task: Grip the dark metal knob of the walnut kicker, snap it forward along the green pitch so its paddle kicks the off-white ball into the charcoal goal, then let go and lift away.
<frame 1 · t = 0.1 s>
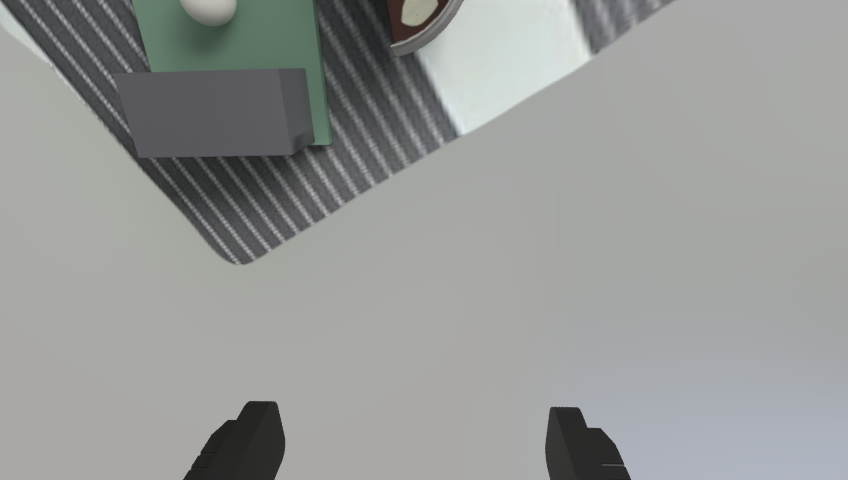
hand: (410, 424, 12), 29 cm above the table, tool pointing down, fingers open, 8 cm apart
goal: (247, 105, 37), resting on pitch
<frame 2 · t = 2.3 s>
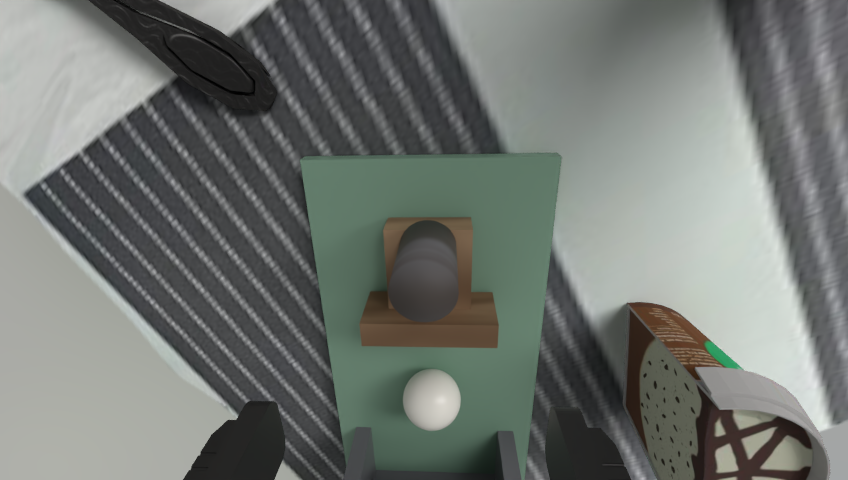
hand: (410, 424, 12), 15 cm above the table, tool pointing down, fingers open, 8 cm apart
kicker: (427, 292, 22), point 5 cm above the table, slide at 0.0 cm
goal: (434, 444, 34), resting on pitch
ball: (431, 399, 28), point 3 cm above the table, touching pitch
food container: (667, 351, 29), on the table
pitch: (432, 344, 30), on the table
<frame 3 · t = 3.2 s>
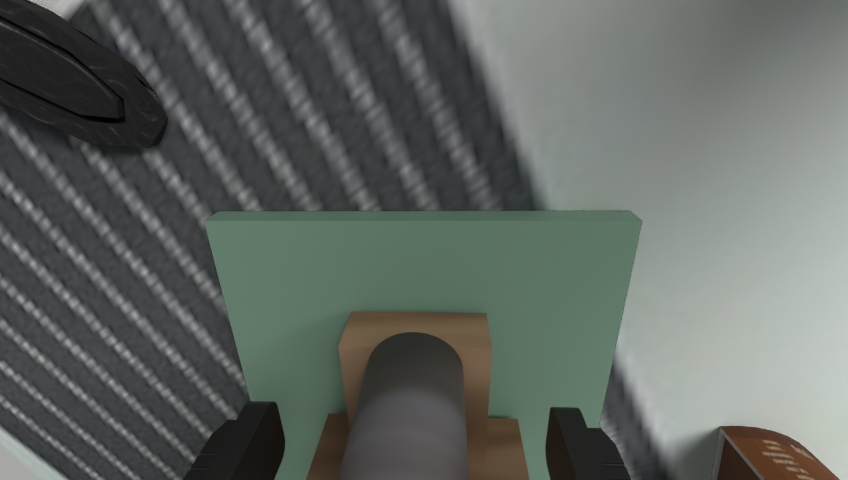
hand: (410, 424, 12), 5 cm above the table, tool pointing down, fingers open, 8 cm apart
kicker: (413, 455, 13), point 5 cm above the table, slide at 0.0 cm
pitch: (425, 472, 20), on the table
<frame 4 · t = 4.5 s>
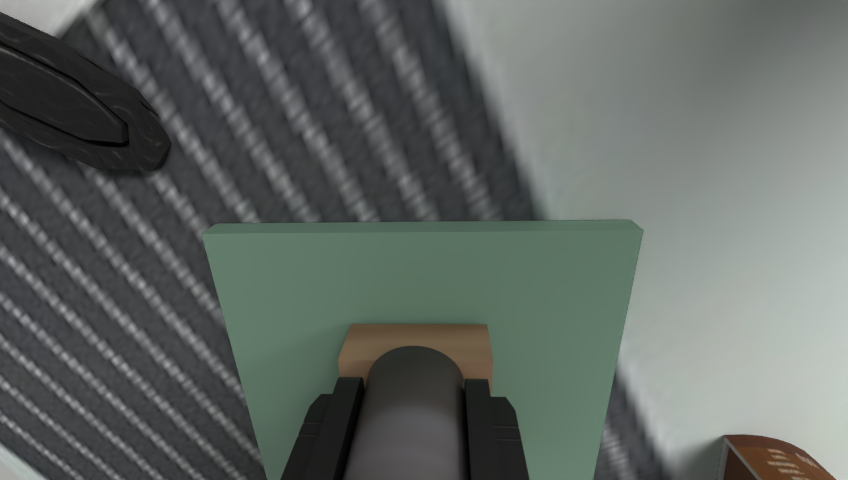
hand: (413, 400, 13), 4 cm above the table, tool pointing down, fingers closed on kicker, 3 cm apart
kicker: (414, 470, 13), point 5 cm above the table, slide at 0.0 cm, touching gripper
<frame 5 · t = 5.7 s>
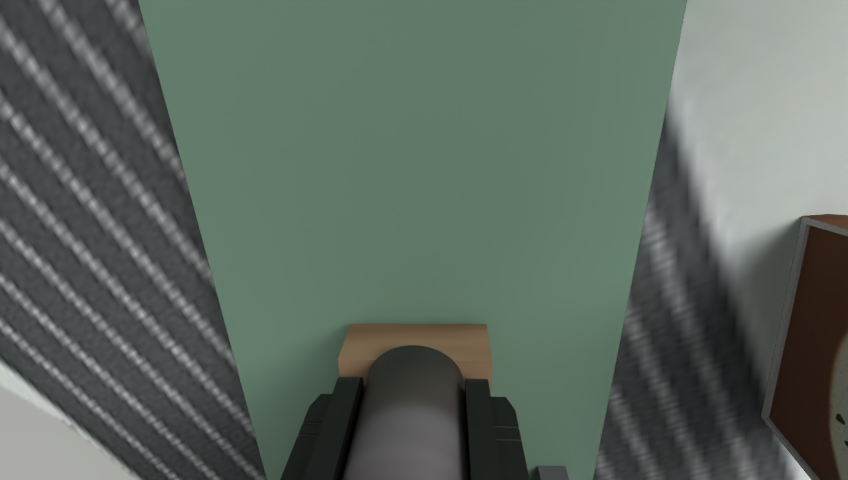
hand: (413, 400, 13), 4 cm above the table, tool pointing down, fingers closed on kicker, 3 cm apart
kicker: (414, 470, 13), point 5 cm above the table, slide at 10.3 cm, touching gripper
pitch: (420, 308, 16), on the table
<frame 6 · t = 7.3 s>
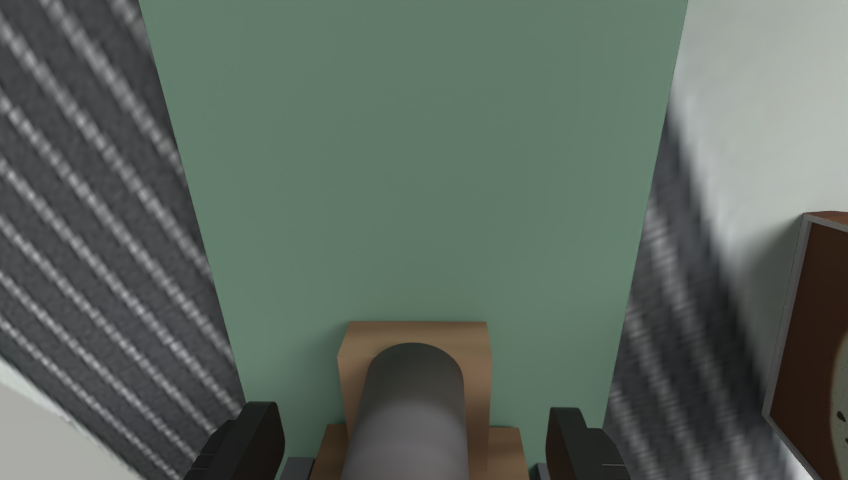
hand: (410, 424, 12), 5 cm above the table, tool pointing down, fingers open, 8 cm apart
kicker: (414, 467, 13), point 5 cm above the table, slide at 10.4 cm
pitch: (419, 304, 16), on the table
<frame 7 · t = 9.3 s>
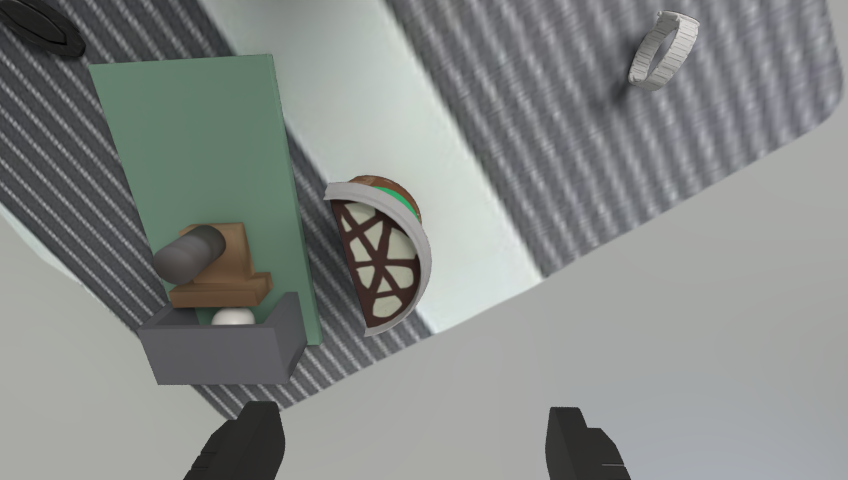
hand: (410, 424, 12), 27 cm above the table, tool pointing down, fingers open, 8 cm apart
kicker: (205, 270, 35), point 5 cm above the table, slide at 10.4 cm
goal: (248, 312, 43), resting on pitch
ball: (233, 324, 40), point 3 cm above the table, tilted 163°, touching pitch
food container: (401, 218, 38), on the table
pitch: (224, 219, 39), on the table
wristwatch: (642, 54, 32), on the table
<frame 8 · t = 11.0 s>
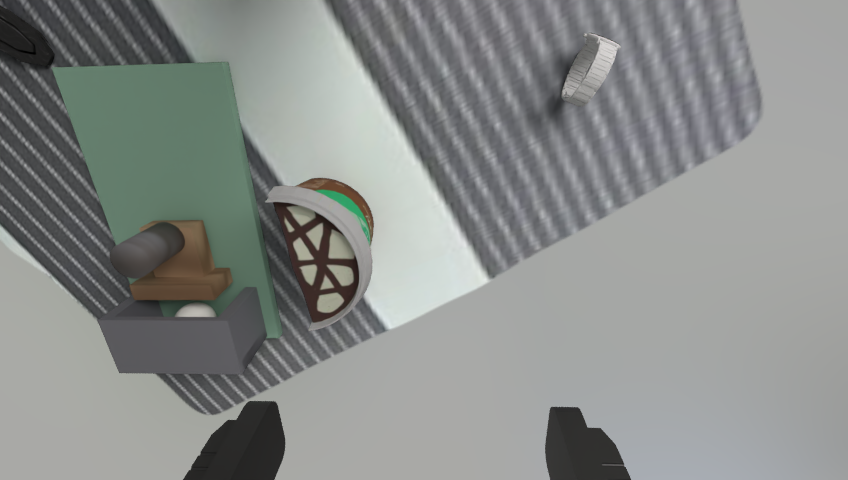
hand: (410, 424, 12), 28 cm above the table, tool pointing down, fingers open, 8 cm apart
kicker: (163, 265, 37), point 5 cm above the table, slide at 10.4 cm
goal: (211, 306, 44), resting on pitch
ball: (195, 321, 42), point 3 cm above the table, tilted 148°, touching pitch
food container: (354, 219, 40), on the table
pitch: (186, 216, 40), on the table
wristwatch: (575, 70, 34), on the table
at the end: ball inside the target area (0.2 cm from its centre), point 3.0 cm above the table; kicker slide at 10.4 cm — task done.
